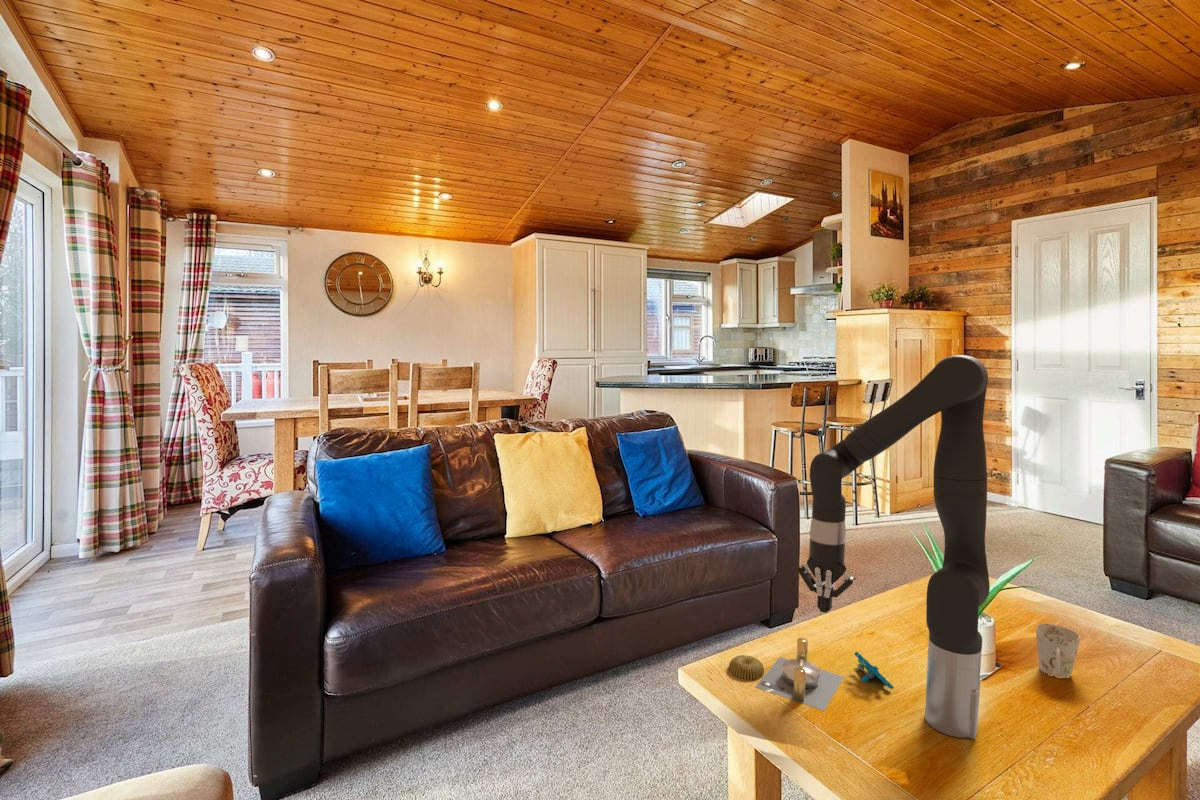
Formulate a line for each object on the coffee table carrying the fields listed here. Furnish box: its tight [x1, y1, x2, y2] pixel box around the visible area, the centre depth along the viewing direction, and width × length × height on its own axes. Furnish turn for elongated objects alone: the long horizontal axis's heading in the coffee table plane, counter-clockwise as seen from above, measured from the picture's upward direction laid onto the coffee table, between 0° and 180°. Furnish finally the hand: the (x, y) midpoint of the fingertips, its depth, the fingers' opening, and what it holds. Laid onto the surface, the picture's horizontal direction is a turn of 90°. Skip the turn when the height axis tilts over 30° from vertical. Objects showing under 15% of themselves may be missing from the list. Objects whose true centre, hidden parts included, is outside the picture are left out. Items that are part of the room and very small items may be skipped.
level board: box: [755, 656, 845, 712], centre depth 136 cm, size 15×18×2 cm
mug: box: [1035, 623, 1081, 678], centre depth 141 cm, size 8×13×10 cm, turn 148°
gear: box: [853, 651, 894, 690], centre depth 137 cm, size 11×6×10 cm
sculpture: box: [728, 654, 765, 681], centre depth 141 cm, size 8×4×8 cm
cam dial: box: [782, 637, 820, 700], centre depth 136 cm, size 16×8×6 cm, turn 159°
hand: (824, 611), depth 138 cm, fingers closed
